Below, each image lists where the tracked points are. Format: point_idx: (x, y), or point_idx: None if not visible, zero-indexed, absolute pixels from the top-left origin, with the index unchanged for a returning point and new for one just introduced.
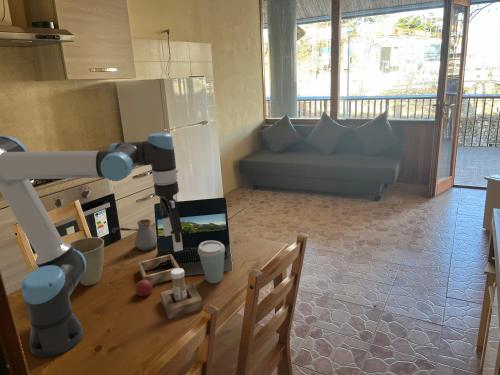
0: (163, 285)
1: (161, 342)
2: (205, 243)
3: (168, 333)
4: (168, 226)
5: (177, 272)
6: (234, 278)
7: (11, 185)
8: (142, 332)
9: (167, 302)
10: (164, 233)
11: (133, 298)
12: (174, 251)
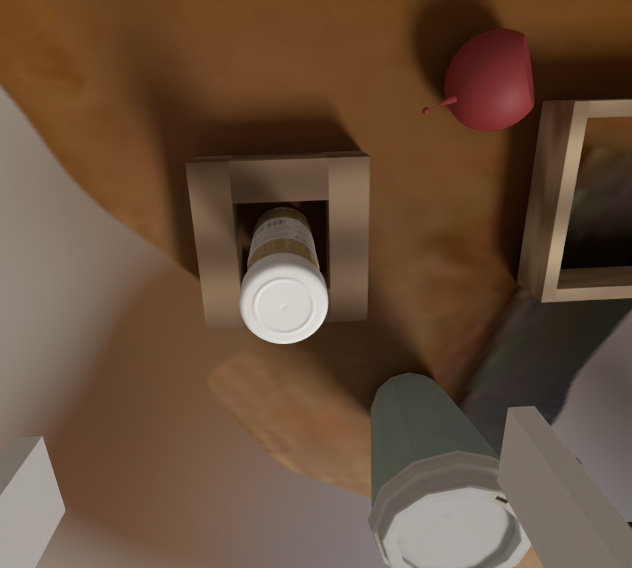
0: (494, 189)
1: (28, 86)
2: (515, 522)
3: (86, 131)
4: (563, 561)
5: (261, 304)
6: (366, 464)
7: None
8: (136, 8)
9: (255, 175)
10: (526, 436)
11: (467, 11)
12: (21, 438)
